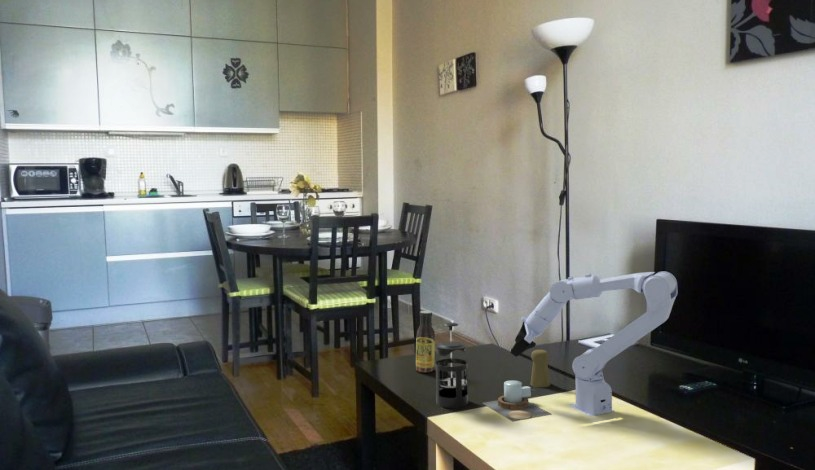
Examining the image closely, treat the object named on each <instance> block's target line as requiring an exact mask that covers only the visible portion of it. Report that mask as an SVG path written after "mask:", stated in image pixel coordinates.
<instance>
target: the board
mask: <svg viewBox="0 0 815 470" xmlns="http://www.w3.org/2000/svg"><path fill="white" fill-rule="evenodd" d="M482 404H483V405H484V406H486V407H487V408H489V409H490V410H492V411H494V412H495V413H497V414H499V415H501V416H502V417H504V418H506V419H508V420H509V421H511V422H518V421H523V420H530V419H533V418H540V417H544V416H546V417H547V416H549V415H550V416H551V415H552V413H551V412H549V411H547V410H545V409H543V408H541V407H539V406H537V405H535V404H534V403H532V402H530V401H529V398H528V397H523V398H522V402H521V403H507V402H504V394H503V395H501V396H499V397H498V398H497V399H495V400H490V401H484V402H482Z"/></svg>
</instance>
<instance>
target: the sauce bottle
mask: <svg viewBox="0 0 815 470" xmlns="http://www.w3.org/2000/svg"><path fill="white" fill-rule="evenodd" d="M419 317H420V321H419V322H420V323H419V327H418V328H417V330H416V338H415V339H416V340H415V341H416V342H415V369H416V371H417V372H419V373H422V374H423V373H424V374H425V373H431V372H433V371H434V370H435V362H436V360H435V358H436V355H435V352H436V349H435V348H436V347H435V345H436V338H435V336H436V332H435V329H434V328H433V326H432V325H433V324H432V317H433V311H431V310H421V311H419Z"/></svg>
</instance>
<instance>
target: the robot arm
mask: <svg viewBox="0 0 815 470" xmlns="http://www.w3.org/2000/svg"><path fill="white" fill-rule="evenodd" d="M628 289H632V290H634V291H635V292H637V293H639V294H642V293H643V294H644V298H645V300H646V311H645V312H644V313H642V315H640V316H638V318H636V319H635V320H633V321H632V322H631V323H629V324H627V326H625V327H623V328H622V329H621V330H619V331H618V332H617V333H615V334H614V335H612V336H611V337H609V338H608V339H606V340H605V341H604V342H603V343H601V344H600V345H599V346H597V347H595V348H589V349H587V350H586V351H585V352H583V353H581V355H578V356H576V357H575V358H574V359H573V361H572V363H571V364H572V365H571V367H572V372H573V373H574V375H575V378H574V379H575V381H574V382H575V403H572V404H568V406H569V407H571V408H573V409H575V410H578V411H579V412H581V413H583V414H585V415H588V416H590V417H593V416H599V415H604V414H609V413H615V410H614V409H613V389H612V387H611V386H610V384H609V383H607V381H606V380H605V379H604V373H603V370H604V368H605V367H606V364H607V363H608V362H609V361H610V360H612V359H613V358H615V357H616V356H618V355H619V354H620V353H622V352H623V351H625V350H627V349H628V348H629V347H631V346H632V345H633V344H635V343H636V342H638V341H639V340H641V339H642V338H644V337H645V336H647V335H648V334H649V333H651V332H652V331H654V330H655V329H656V328H658V327H659V326H660V325H662V324H664V323H665V322H666V321H667V320H668V319H669V317H670V314H671V312H672V308H673V305H674V303H675V300H676V297H677V296H678V293H679V292H678V291H679V290H678V281H677V279H676V277H675V276H674V275H673V274H672V273H671V272H668V271H658V272H657V273H656V271H646V272H645V271H644V272H636V273H630V274H624V275H617V276H612V277H608V278H606V277H605V278H601V277H600V276H597V275H595V274H594V275H592V274H591V273H586V274H584V276H579V277H575V278H574V277H573V276H570V277H569V276H568V277H567V278H564V279H561V280H558V281H555V282H554V283H552V284H551V285H550V288H549V291H548V292H547V294H546V295H545V296H544V297H543V298H542V299H541V300H540V302H539V303H538V304H537V305H536V307H535V308H534V309H533V310H532V311H531V313H529V315H528V316H527V317H525V316H524V315H523V316H522V317H521V319H520V321H521V322H522V324H521V328H520V329H519V332H518V333H517V335H516V337H515V340H514V342H515V343H514V345H513V346H512V347H511V350H510V354H512V355H513V356H514V357H515V358H516V357H519V356H520V355H522V353H524V352H526V351H528V350H530V349H533V348H535V347H536V345H537V343H536V342H535V341H534V340H535V339H536V338H538V337H540V336H541V335H543V333H544V331H545V330H546V329H547V328H548V327H549V326H550V325H551V323H552V322H553V321H554V319H555V318H556V317H557V316H558V315H559V313H560V312H561V311H562V310H563V308H564V306H565V305H566V304H567V303H568V301H571V300H582V299H583V300H584V299H591V298H599V297H600V296H601V295H602V294H603V292H607V291H617V290H628Z"/></svg>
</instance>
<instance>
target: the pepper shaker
mask: <svg viewBox="0 0 815 470" xmlns="http://www.w3.org/2000/svg"><path fill="white" fill-rule="evenodd" d="M530 357H531V360H532V368H531V377H530V386H532V387H536V388H548V387H550V386H551V379H550V372H549V368H548V367H549V366H548V361H549V359H550V355H549V352H548V351H547V350H545V349H534V350H533V351H532V352H531V355H530Z"/></svg>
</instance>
